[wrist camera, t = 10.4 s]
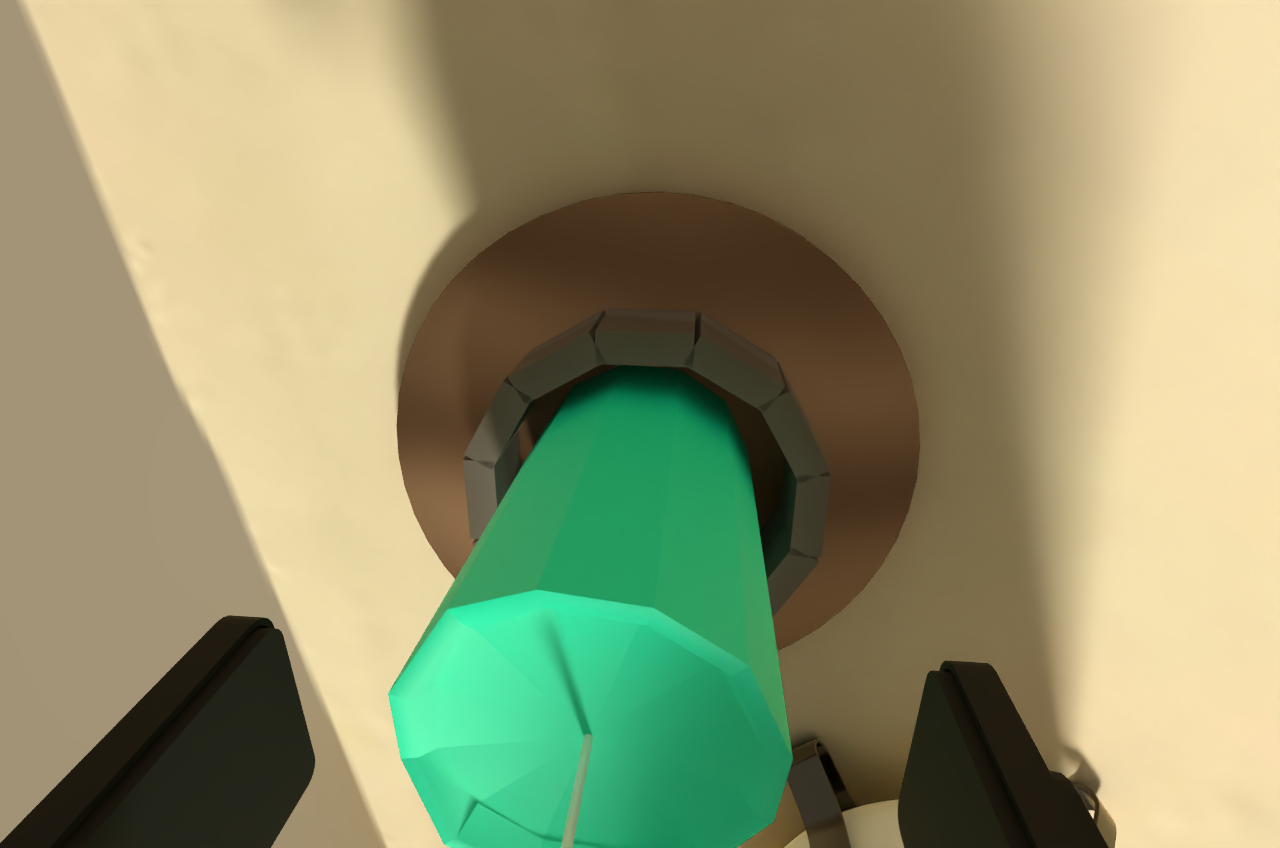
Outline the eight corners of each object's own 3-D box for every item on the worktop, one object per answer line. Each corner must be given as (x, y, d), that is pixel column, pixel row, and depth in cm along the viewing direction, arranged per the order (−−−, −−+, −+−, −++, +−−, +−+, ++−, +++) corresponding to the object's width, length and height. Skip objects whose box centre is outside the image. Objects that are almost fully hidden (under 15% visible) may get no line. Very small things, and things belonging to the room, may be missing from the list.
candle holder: (379, 187, 18) (311, 195, 15) (951, 195, 17) (1009, 204, 14) (436, 638, 24) (394, 714, 21) (872, 667, 23) (900, 752, 20)
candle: (734, 347, 18) (780, 650, 7) (760, 540, 20) (827, 1011, 9) (519, 379, 19) (258, 694, 8) (565, 561, 21) (410, 1014, 10)
